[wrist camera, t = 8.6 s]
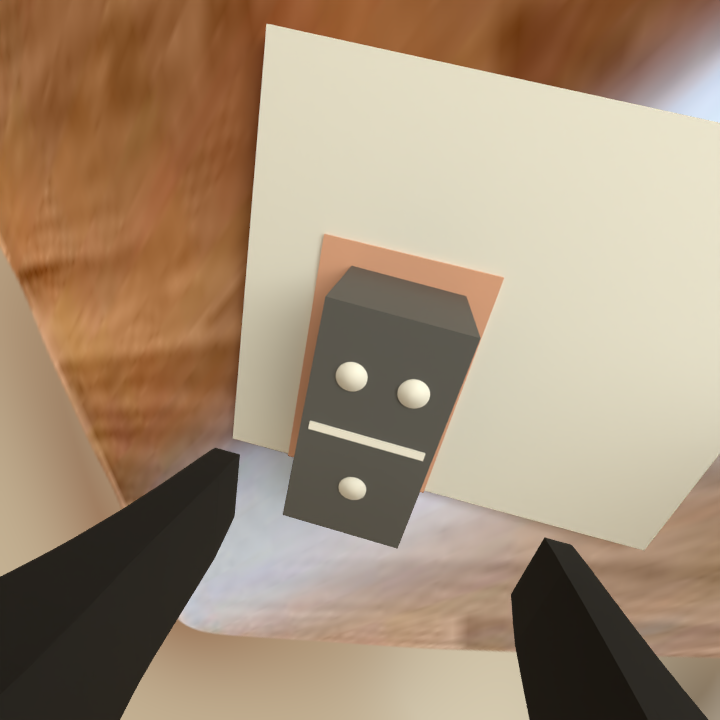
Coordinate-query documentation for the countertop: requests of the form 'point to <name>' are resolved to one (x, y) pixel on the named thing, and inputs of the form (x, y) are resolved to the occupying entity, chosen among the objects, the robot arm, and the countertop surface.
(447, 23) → the countertop surface
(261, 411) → the cream mat
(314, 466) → the domino block
